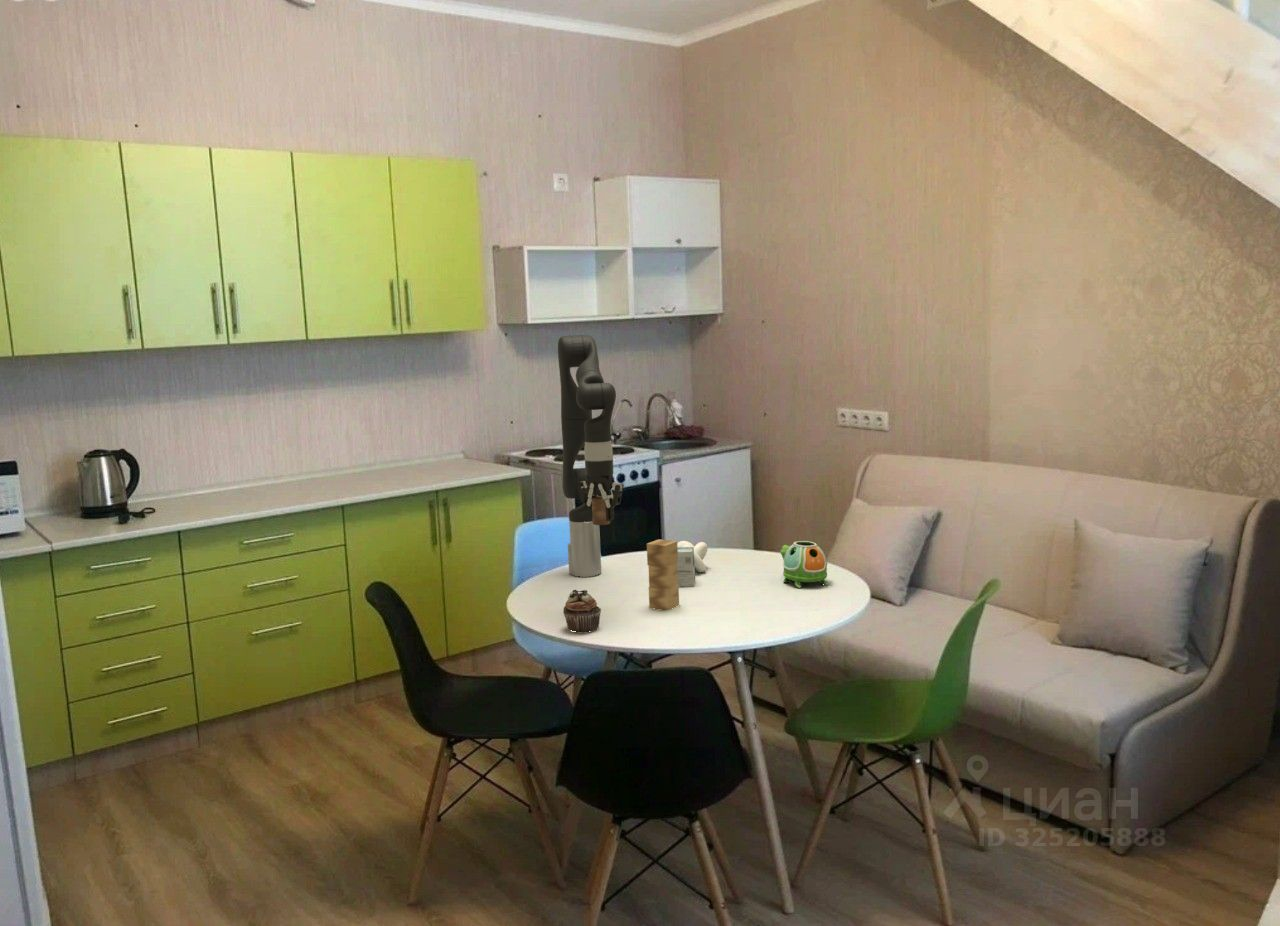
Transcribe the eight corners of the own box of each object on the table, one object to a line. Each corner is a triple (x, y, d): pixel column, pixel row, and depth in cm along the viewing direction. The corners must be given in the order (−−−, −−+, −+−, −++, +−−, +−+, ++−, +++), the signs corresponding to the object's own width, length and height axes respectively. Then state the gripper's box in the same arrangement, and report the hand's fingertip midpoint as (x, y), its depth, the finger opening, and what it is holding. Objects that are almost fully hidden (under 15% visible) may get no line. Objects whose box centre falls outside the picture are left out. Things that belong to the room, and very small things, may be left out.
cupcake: (602, 633, 260) (600, 594, 259) (564, 635, 259) (562, 596, 258) (601, 621, 270) (599, 584, 268) (564, 624, 269) (562, 587, 267)
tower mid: (649, 587, 278) (648, 566, 278) (657, 582, 284) (656, 560, 283) (669, 589, 276) (669, 567, 275) (677, 583, 282) (676, 562, 281)
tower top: (647, 565, 278) (646, 543, 278) (659, 560, 283) (658, 539, 282) (666, 567, 275) (665, 545, 274) (678, 562, 280) (677, 541, 279)
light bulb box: (695, 581, 306) (694, 545, 305) (694, 587, 300) (693, 551, 298) (659, 581, 308) (658, 546, 306) (658, 587, 301) (656, 551, 299)
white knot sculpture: (667, 575, 314) (666, 547, 313) (674, 566, 325) (673, 538, 324) (703, 576, 311) (702, 547, 310) (709, 566, 323) (708, 538, 322)
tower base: (649, 608, 280) (648, 587, 279) (660, 602, 285) (659, 581, 284) (668, 610, 277) (667, 589, 276) (679, 605, 282) (678, 583, 281)
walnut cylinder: (589, 524, 277) (588, 498, 276) (598, 520, 281) (597, 495, 280) (604, 525, 274) (603, 500, 273) (613, 522, 278) (612, 496, 277)
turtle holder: (802, 572, 312) (801, 533, 310) (836, 585, 295) (835, 545, 294) (767, 577, 307) (766, 538, 305) (799, 591, 291) (798, 550, 289)
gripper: (568, 458, 275) (571, 520, 278) (614, 461, 268) (616, 524, 271) (584, 454, 282) (587, 515, 284) (628, 456, 274) (631, 519, 277)
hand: (601, 519), depth 278 cm, fingers closed on walnut cylinder, 4 cm apart
